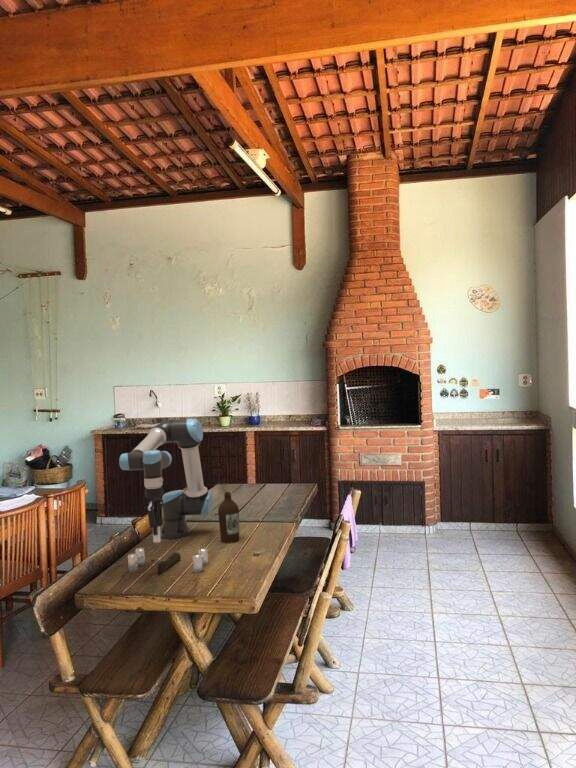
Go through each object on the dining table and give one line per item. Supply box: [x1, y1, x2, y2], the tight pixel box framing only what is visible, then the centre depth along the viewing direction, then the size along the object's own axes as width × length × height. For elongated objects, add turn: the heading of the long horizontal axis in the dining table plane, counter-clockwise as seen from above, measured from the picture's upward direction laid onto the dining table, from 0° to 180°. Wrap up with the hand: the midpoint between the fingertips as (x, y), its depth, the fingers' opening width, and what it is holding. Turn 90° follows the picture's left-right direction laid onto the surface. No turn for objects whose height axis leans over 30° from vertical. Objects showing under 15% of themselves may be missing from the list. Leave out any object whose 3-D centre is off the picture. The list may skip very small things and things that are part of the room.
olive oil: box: [217, 490, 240, 544], centre depth 292 cm, size 11×11×25 cm
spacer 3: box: [192, 553, 203, 573], centre depth 250 cm, size 4×4×7 cm
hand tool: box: [157, 552, 181, 576], centre depth 257 cm, size 19×4×5 cm, turn 163°
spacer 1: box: [127, 553, 139, 573], centre depth 255 cm, size 4×4×7 cm
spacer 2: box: [134, 547, 146, 567], centre depth 263 cm, size 4×4×7 cm
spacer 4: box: [197, 547, 209, 566], centre depth 258 cm, size 4×4×7 cm
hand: (157, 541), depth 245 cm, fingers closed
